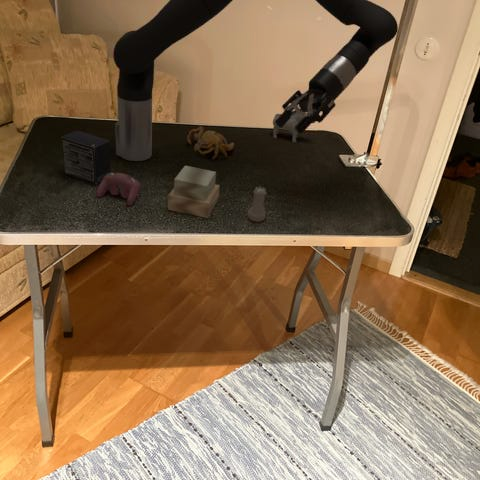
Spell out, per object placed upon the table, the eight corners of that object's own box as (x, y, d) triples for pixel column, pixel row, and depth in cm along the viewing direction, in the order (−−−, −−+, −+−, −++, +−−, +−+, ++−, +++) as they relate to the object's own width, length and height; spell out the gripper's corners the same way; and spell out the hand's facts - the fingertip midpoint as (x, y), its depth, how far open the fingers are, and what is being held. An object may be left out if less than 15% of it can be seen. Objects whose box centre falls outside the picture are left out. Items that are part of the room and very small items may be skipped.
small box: (112, 176, 131) (110, 139, 125) (96, 186, 126) (94, 147, 120) (80, 165, 134) (77, 128, 128) (63, 174, 129) (59, 136, 123)
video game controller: (138, 206, 123) (144, 179, 122) (130, 206, 118) (136, 178, 117) (103, 196, 125) (109, 169, 124) (94, 196, 120) (99, 168, 119)
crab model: (243, 156, 151) (245, 140, 147) (207, 163, 144) (209, 146, 141) (215, 137, 160) (217, 121, 157) (181, 142, 154) (182, 126, 151)
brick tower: (167, 209, 120) (168, 180, 115) (181, 191, 128) (182, 163, 124) (207, 218, 119) (210, 188, 114) (218, 199, 127) (221, 171, 122)
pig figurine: (306, 144, 163) (313, 113, 157) (269, 137, 165) (274, 106, 159) (309, 139, 167) (315, 108, 161) (272, 131, 169) (277, 101, 163)
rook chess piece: (263, 224, 119) (268, 195, 115) (245, 220, 120) (249, 191, 115) (266, 215, 123) (271, 186, 118) (249, 211, 123) (252, 183, 119)
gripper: (307, 65, 122) (263, 112, 121) (344, 69, 111) (296, 121, 109) (321, 88, 126) (279, 133, 125) (358, 94, 115) (312, 144, 114)
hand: (287, 128), depth 117 cm, fingers open, 8 cm apart
